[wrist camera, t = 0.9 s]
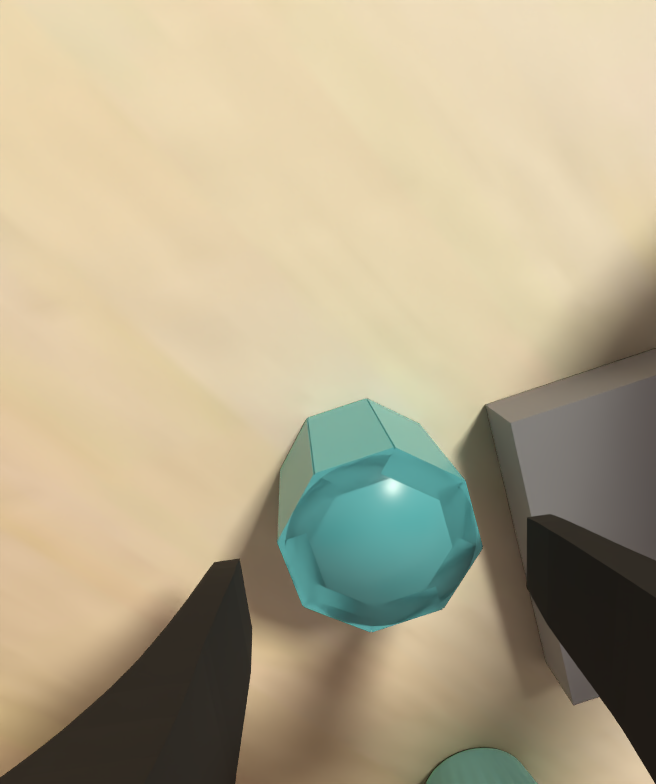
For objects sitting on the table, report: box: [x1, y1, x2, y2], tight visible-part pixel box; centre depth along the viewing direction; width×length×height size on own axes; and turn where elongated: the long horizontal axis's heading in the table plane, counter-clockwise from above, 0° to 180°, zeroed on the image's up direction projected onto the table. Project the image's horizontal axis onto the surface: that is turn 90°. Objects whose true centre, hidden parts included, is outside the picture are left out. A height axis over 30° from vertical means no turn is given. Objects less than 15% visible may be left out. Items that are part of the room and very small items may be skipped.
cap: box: [277, 399, 483, 632], centre depth 15 cm, size 5×5×4 cm
